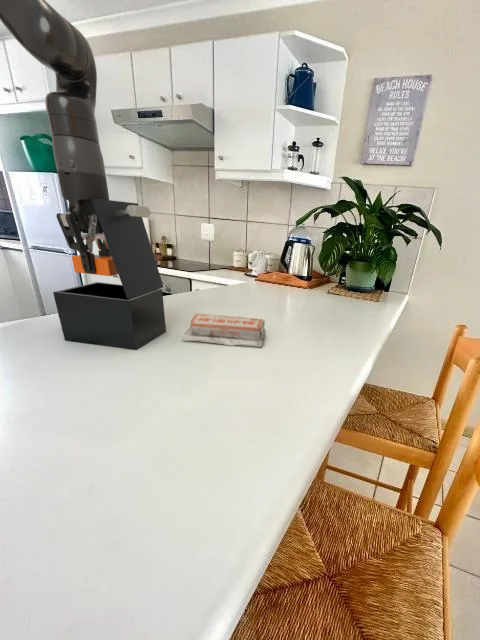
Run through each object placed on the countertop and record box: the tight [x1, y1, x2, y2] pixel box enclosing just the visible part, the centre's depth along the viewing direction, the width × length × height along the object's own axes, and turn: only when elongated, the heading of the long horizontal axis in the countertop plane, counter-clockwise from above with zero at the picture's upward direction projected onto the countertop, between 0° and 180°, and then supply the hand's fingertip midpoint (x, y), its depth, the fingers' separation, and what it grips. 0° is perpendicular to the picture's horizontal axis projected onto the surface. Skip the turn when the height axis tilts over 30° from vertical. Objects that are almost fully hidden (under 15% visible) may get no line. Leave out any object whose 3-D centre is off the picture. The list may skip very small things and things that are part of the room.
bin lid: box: [92, 199, 164, 299], centre depth 62 cm, size 16×13×5 cm
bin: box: [52, 281, 167, 351], centre depth 69 cm, size 16×13×10 cm
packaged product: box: [180, 313, 267, 348], centre depth 74 cm, size 18×5×10 cm
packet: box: [71, 254, 119, 277], centre depth 64 cm, size 8×4×3 cm, turn 82°
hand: (99, 271), depth 65 cm, fingers closed on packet, 4 cm apart
